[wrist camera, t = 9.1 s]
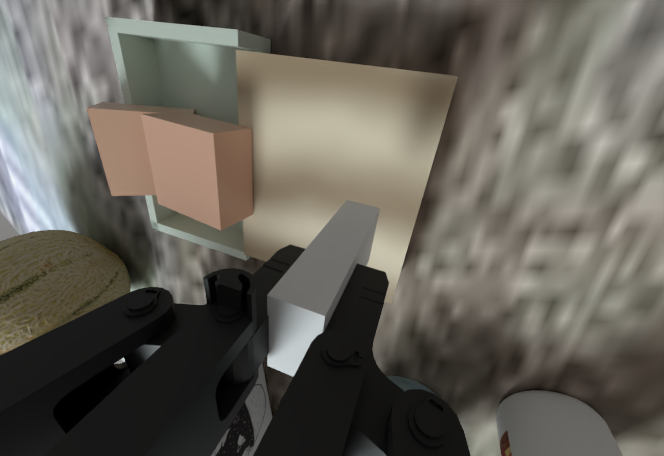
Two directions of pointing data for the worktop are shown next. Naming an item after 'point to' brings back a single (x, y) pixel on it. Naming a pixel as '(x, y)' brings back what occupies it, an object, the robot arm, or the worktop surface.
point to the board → (337, 149)
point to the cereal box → (248, 423)
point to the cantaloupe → (53, 282)
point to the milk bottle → (552, 426)
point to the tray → (184, 95)
